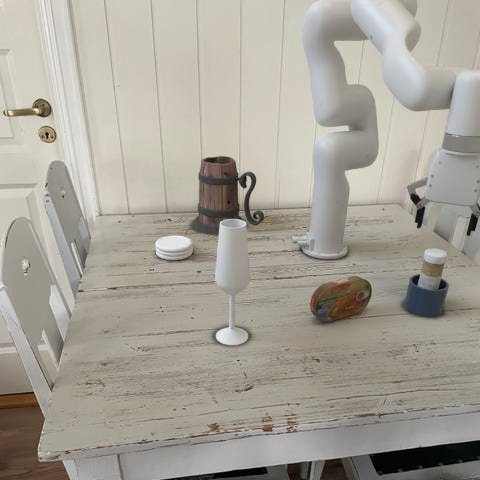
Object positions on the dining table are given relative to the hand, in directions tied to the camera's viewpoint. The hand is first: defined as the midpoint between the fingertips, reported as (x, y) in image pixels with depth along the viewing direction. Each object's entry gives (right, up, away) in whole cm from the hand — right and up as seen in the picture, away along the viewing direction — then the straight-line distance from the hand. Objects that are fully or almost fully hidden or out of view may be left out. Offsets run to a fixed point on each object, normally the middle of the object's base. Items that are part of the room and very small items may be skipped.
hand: (443, 230), depth 101 cm
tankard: (-46, +10, +52) cm, 70 cm away
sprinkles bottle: (-1, -16, +10) cm, 19 cm away
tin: (-20, -18, +7) cm, 28 cm away
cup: (-1, -16, +10) cm, 19 cm away
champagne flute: (-44, -22, -1) cm, 49 cm away
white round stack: (-60, 0, +34) cm, 69 cm away
